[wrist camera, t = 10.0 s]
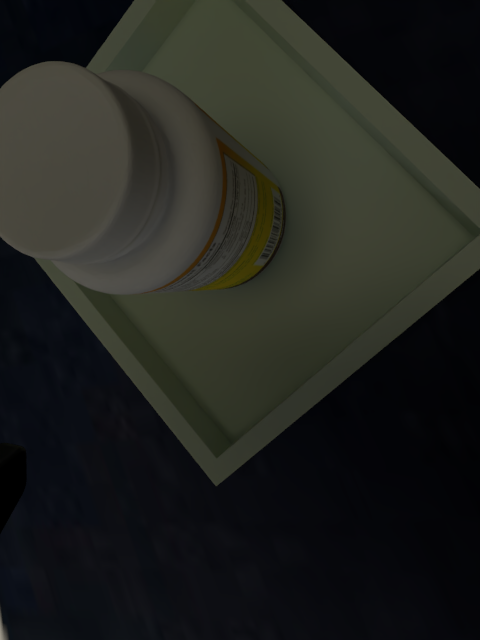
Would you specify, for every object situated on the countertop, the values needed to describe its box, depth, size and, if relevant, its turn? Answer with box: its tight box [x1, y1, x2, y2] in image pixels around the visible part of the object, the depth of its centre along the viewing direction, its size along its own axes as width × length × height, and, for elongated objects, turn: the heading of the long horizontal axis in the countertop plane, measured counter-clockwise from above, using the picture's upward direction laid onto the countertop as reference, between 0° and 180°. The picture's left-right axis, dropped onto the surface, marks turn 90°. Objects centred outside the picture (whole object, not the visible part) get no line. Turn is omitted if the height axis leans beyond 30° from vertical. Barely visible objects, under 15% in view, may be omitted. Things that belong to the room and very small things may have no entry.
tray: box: [34, 0, 480, 486], centre depth 18 cm, size 16×14×2 cm
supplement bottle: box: [0, 61, 287, 295], centre depth 14 cm, size 6×6×10 cm
